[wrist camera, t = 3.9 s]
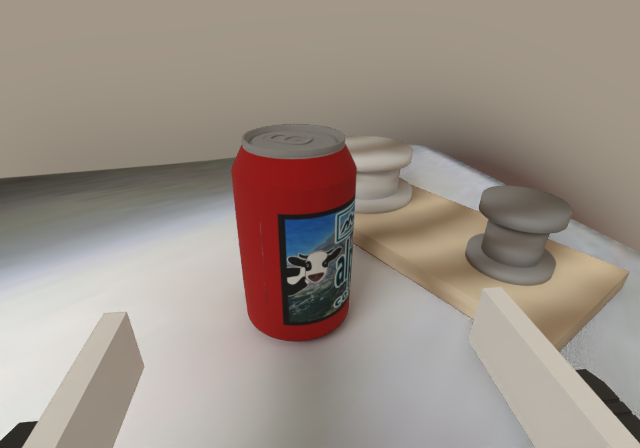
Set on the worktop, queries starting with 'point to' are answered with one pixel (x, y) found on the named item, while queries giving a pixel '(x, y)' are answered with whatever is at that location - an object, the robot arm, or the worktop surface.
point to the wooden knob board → (478, 243)
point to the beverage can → (295, 228)
